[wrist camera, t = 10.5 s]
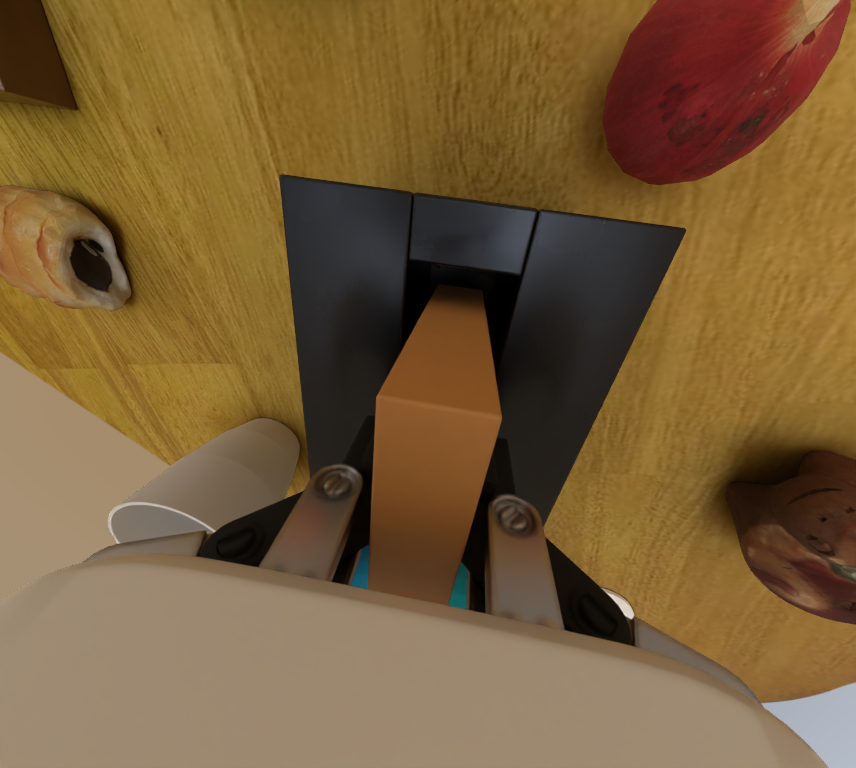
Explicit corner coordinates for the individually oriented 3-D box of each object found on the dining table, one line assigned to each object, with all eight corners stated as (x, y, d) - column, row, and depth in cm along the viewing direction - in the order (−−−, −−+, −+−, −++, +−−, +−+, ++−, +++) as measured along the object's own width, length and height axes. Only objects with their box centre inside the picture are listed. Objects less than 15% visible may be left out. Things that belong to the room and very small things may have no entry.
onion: (701, 180, 15) (908, 148, 8) (573, 198, 16) (653, 185, 9) (745, 2, 12) (1127, -294, 5) (587, 38, 13) (720, -167, 6)
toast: (437, 283, 14) (375, 395, 5) (482, 290, 13) (503, 417, 5) (417, 442, 18) (363, 655, 9) (450, 448, 18) (430, 670, 9)
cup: (210, 430, 27) (87, 532, 18) (262, 385, 24) (142, 481, 15) (281, 487, 30) (201, 599, 21) (336, 452, 26) (269, 568, 18)
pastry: (17, 277, 22) (-64, 287, 19) (-31, 165, 19) (-140, 154, 15) (142, 309, 22) (83, 326, 19) (116, 203, 19) (39, 200, 15)
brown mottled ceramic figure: (807, 391, 19) (1024, 497, 12) (887, 506, 23) (1079, 633, 16) (657, 475, 23) (753, 592, 16) (750, 560, 27) (857, 681, 20)
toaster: (374, 193, 17) (277, 173, 8) (578, 221, 16) (688, 228, 8) (368, 416, 24) (313, 521, 16) (507, 440, 23) (526, 563, 15)
